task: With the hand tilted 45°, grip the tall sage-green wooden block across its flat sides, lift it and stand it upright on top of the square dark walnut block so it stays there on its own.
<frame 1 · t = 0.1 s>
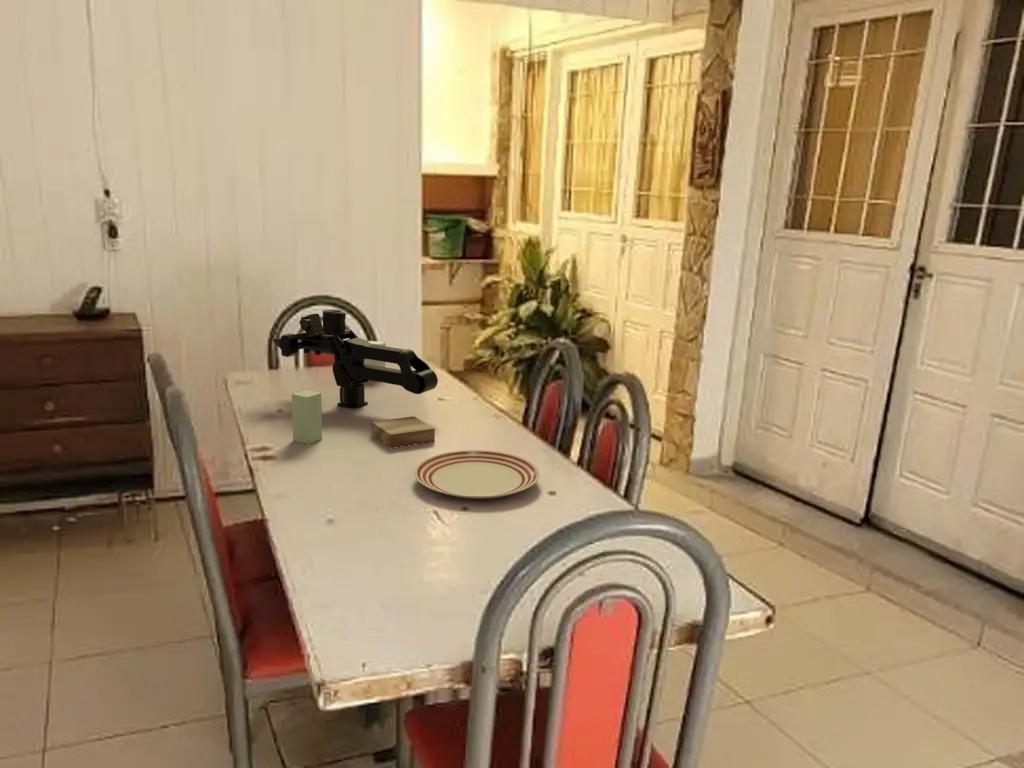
hand: (284, 338, 245), 17 cm above the table, tool horizontal, fingers open, 9 cm apart
skincare box: (374, 378, 270), on the table
walnut block: (402, 440, 209), on the table
sage block: (307, 439, 205), on the table
dinner plate: (476, 484, 180), on the table
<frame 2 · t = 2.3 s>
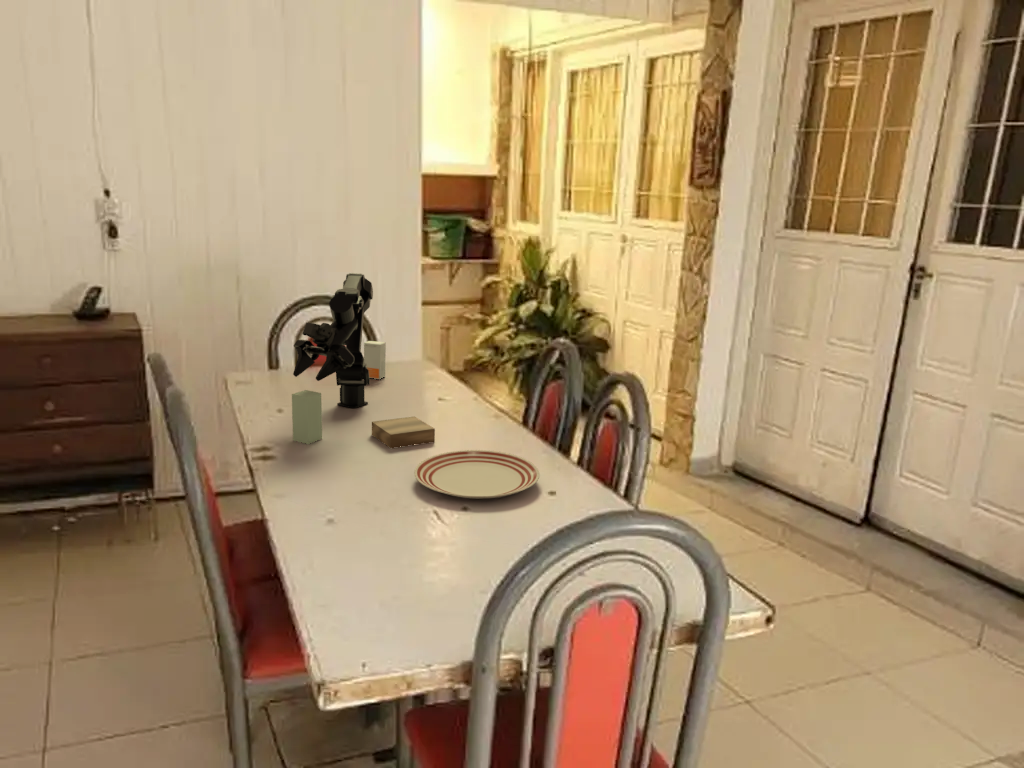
hand: (305, 377, 209), 14 cm above the table, tool tilted 50°, fingers open, 9 cm apart
nothing on the table moved.
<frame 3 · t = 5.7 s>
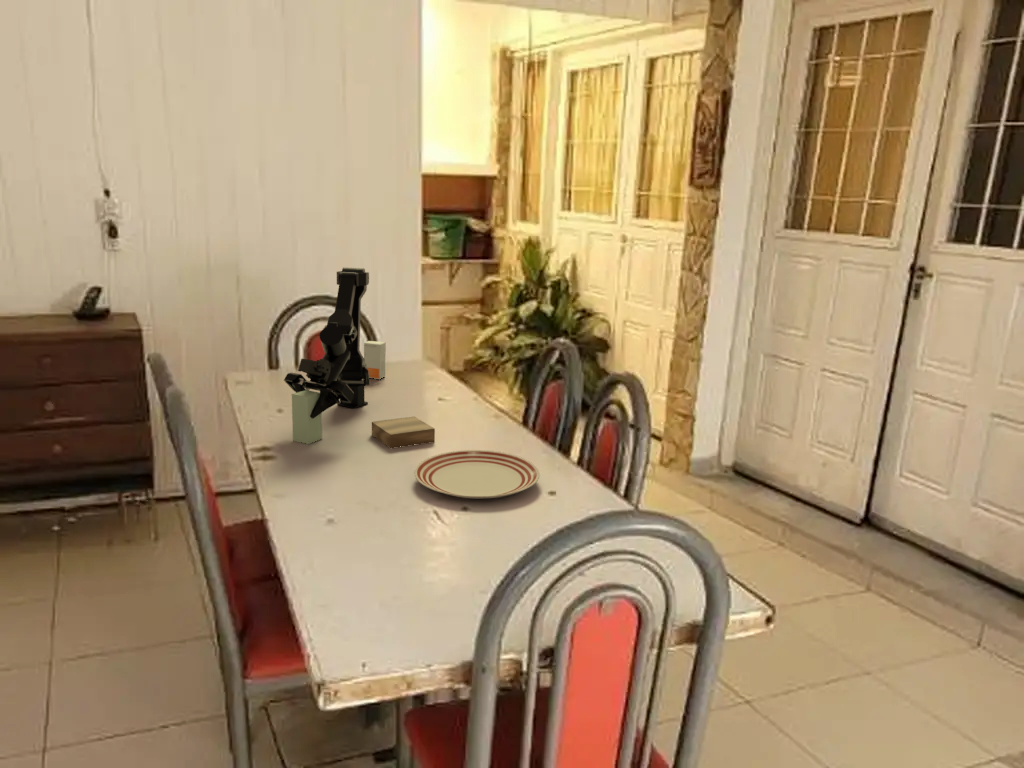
hand: (303, 415, 202), 7 cm above the table, tool tilted 45°, fingers closed on sage block, 5 cm apart
sage block: (307, 439, 205), on the table, touching gripper
everything else where it was.
when the fingers open (12 cm above the table, at t = 11.8 s): sage block drops 2 cm, point 4 cm above the table.
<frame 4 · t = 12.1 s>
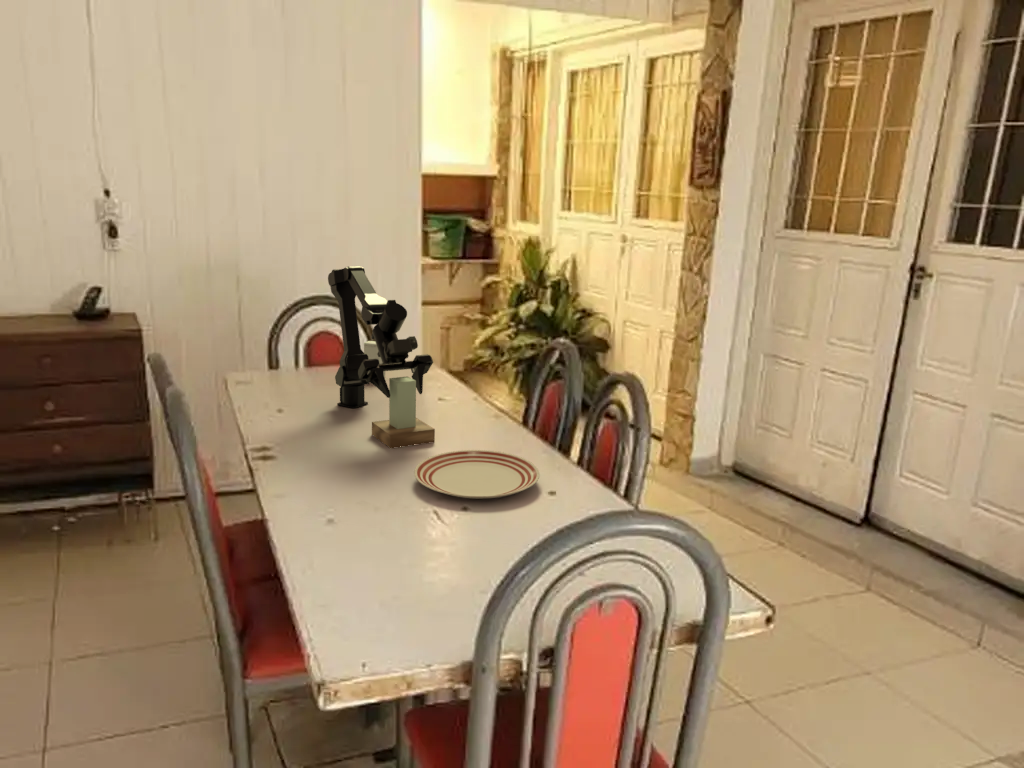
hand: (405, 395, 205), 12 cm above the table, tool tilted 45°, fingers open, 8 cm apart
sage block: (402, 425, 208), point 4 cm above the table
everything else where it was.
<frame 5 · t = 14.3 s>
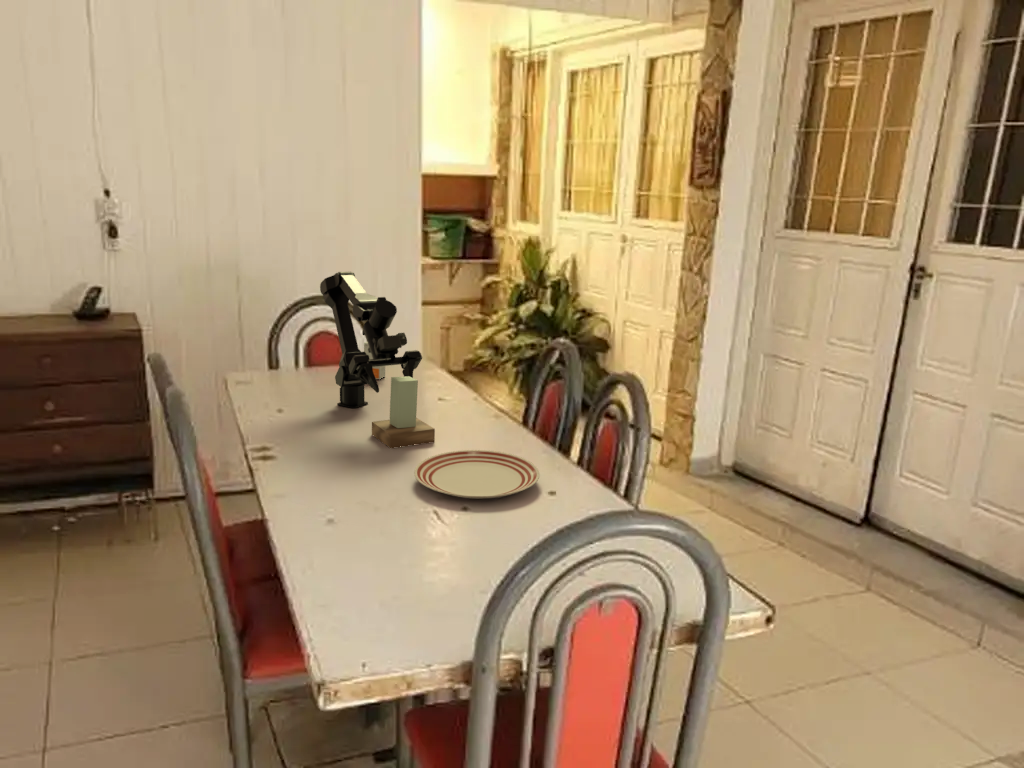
hand: (394, 390, 210), 12 cm above the table, tool tilted 45°, fingers open, 9 cm apart
walnut block: (402, 440, 209), on the table, touching sage block
sage block: (402, 424, 208), point 4 cm above the table, touching walnut block
everything else where it was.
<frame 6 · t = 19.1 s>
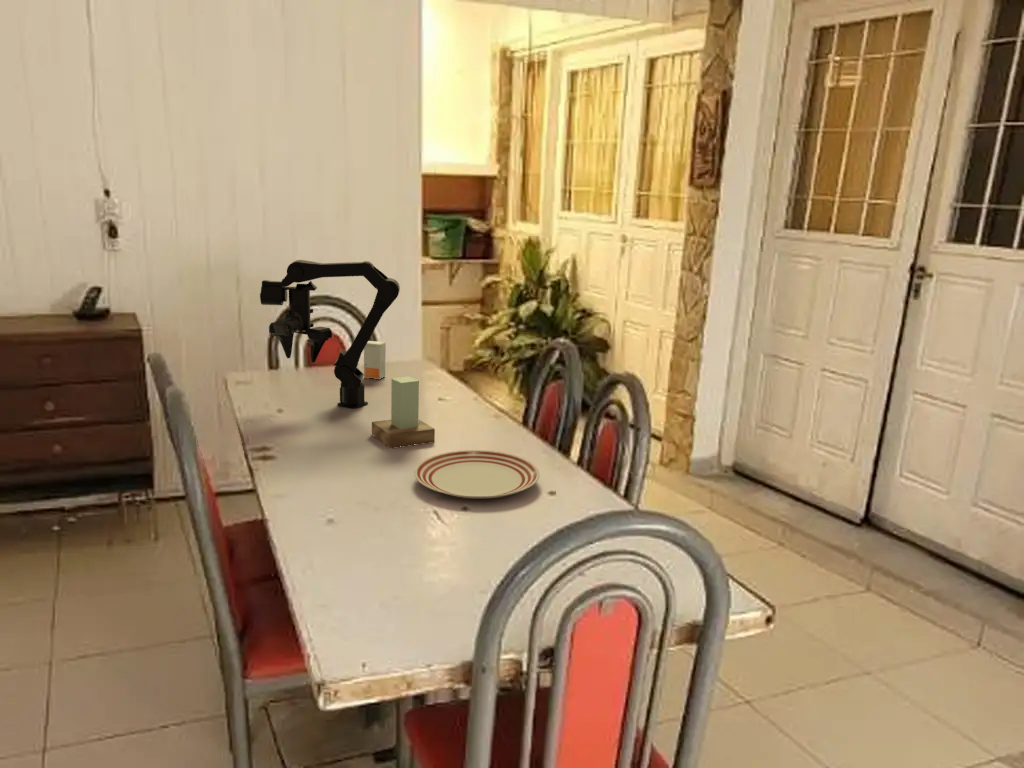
hand: (300, 360, 233), 13 cm above the table, tool pointing down, fingers open, 9 cm apart
nothing on the table moved.
at the end: sage block inside the target area on the walnut block (0.4 cm from its centre), point 4.0 cm above the walnut block's base; sage block tilted 0°; the gripper is holding nothing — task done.
